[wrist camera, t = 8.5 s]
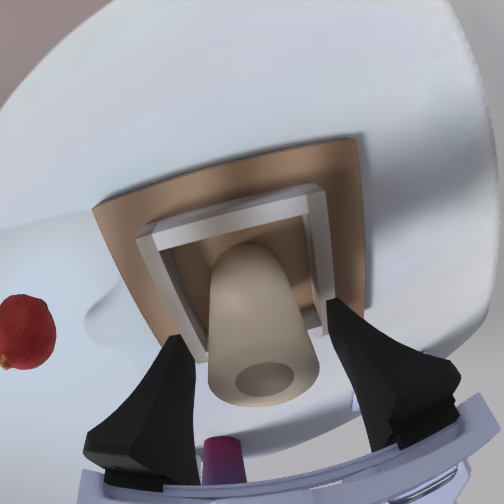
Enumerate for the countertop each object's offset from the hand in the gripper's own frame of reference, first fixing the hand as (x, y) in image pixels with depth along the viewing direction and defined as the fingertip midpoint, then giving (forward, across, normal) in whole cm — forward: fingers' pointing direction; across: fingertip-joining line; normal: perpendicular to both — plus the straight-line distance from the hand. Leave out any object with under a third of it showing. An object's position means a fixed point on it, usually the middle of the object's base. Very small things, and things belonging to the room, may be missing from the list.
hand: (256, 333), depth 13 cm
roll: (+5, 0, 0) cm, 5 cm away
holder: (+6, 0, 0) cm, 6 cm away
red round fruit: (+6, +18, -1) cm, 19 cm away
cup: (+6, +10, +27) cm, 29 cm away
